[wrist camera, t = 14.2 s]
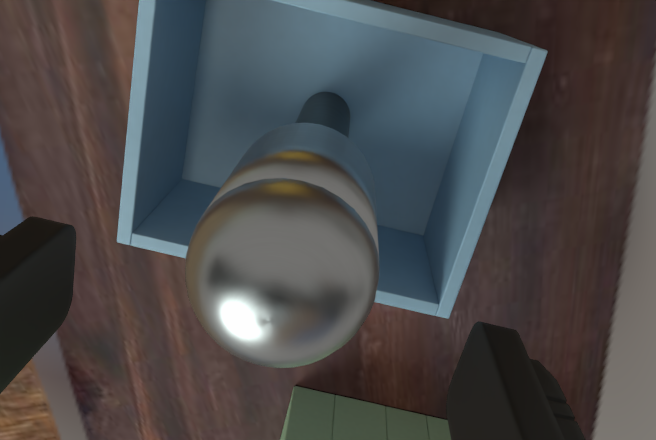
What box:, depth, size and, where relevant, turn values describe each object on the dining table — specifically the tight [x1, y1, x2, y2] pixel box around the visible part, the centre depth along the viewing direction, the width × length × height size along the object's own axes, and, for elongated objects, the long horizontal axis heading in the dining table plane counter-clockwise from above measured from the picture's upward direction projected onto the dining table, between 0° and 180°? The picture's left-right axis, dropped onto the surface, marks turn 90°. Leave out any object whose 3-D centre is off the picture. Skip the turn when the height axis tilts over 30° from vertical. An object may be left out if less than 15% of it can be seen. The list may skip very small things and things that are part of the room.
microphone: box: [185, 92, 380, 368], centre depth 20 cm, size 4×4×18 cm
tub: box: [117, 0, 548, 318], centre depth 25 cm, size 14×11×8 cm
